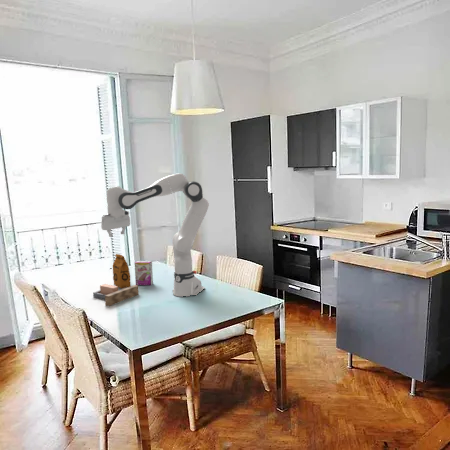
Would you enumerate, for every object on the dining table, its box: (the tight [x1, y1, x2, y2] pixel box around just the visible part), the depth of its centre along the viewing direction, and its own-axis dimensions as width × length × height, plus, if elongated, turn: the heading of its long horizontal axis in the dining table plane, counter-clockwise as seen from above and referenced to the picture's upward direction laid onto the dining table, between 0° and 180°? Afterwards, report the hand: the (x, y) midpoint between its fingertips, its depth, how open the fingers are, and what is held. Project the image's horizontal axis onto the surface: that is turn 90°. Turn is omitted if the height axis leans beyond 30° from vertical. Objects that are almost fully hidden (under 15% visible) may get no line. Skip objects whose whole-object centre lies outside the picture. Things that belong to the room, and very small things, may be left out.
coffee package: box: [112, 253, 132, 290], centre depth 265 cm, size 10×12×22 cm
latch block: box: [99, 283, 119, 295], centre depth 244 cm, size 4×12×6 cm, turn 57°
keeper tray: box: [92, 289, 119, 301], centre depth 245 cm, size 11×17×3 cm, turn 57°
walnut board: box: [104, 284, 140, 307], centre depth 238 cm, size 24×3×6 cm, turn 147°
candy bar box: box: [134, 260, 154, 286], centre depth 268 cm, size 11×5×16 cm, turn 84°
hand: (116, 235), depth 239 cm, fingers open, 8 cm apart
